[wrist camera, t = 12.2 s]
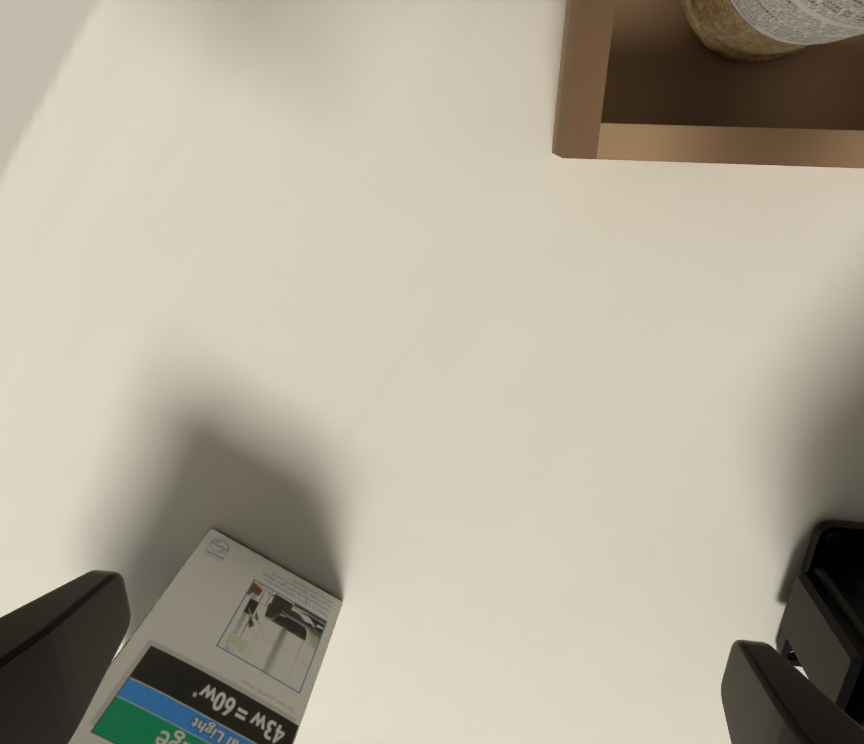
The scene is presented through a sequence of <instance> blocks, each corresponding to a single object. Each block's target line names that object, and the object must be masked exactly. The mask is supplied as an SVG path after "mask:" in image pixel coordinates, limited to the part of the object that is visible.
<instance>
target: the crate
mask: <svg viewBox="0 0 864 744" xmlns="http://www.w3.org/2000/svg"><path fill="white" fill-rule="evenodd" d="M552 153H554V154H556V155H558V156H560V157H562V158H579V159H608V160H637V161H667V162H696V163H725V164H754V165H783V166H812V167H842V168H864V34H860V35H857V36H853V37H849V38H846V39H842V40H838V41H834V42H829V43H824V44H813V45H808V46H806V47H805V48H803V49H801V50H800V51H798V52H795V53H793V54H791V55H787V56H783V57H780V58H777V59H775V60H772V61H768V62H740V61H737V60H733V59H729V58H726V57H724V56H722V55H720V54H719V53H717V52H715V51H713V50H711V49H709V48H707V47H706V46H705V45H704V44H703V43H702V42H701V40H700V39H699V37H698V36H697V35H696V34H695V33H694V30H693V28H692V27H691V26H690V24H689V22H688V20H687V17H686V14H685V11H684V8H683V6H682V4H681V0H567V1H566V12H565V22H564V32H563V43H562V53H561V64H560V74H559V84H558V95H557V105H556V116H555V126H554V136H553V147H552Z"/></svg>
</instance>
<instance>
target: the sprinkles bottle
mask: <svg viewBox="0 0 864 744" xmlns="http://www.w3.org/2000/svg"><path fill="white" fill-rule="evenodd" d="M681 4H682V6H683V8H684V11H685V14H686V17H687V20H688V22H689V24H690V26H691V27H692V28H693V30H694V33H695V34H696V35H697V36H698V37H699V39H700V40H701V42H702V43H703V44H704V45H705V46H706V47H707V48H709V49H711V50H713V51H715V52H717V53H719V54H720V55H722V56H724V57H726V58H729V59H733V60H737V61H740V62H768V61H772V60H775V59H777V58H780V57H783V56H787V55H791V54H793V53H795V52H798V51H800V50H801V49H803V48H805V47H806V46H808V45H813V44H824V43H829V42H834V41H838V40H842V39H846V38H849V37H853V36H857V35H860V34H864V0H681Z"/></svg>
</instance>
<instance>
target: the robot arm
mask: <svg viewBox="0 0 864 744" xmlns="http://www.w3.org/2000/svg"><path fill="white" fill-rule="evenodd" d="M831 533H835V535H834V536H832V537H830V538H826V537H827V536H828V535H829V534H831ZM129 624H130V608H129V603H128V598H127V593H126V588H125V583H124V579H123V577H122V576H121V575H120V573H117V572H111V571H102V570H93V571H90V572H88V573H86V574H84V575H82V576H80V577H78V578H76V579H74V580H72V581H70V582H68V583H66V584H65V585H63V586H61V587H59V588H57V589H55V590H53V591H51V592H49V593H47V594H45V595H43V596H41V597H39V598H38V599H36V600H34V601H32V602H30V603H28V604H26V605H24V606H22V607H20V608H18V609H16V610H14V611H12V612H11V613H9V614H7V615H5V616H3V617H1V618H0V744H68V743H69V742H70V740H71V738H72V737H73V735H74V733H75V732H76V730H77V728H78V726H79V724H80V723H81V721H82V719H83V717H84V715H85V713H86V711H87V709H88V707H89V705H90V703H91V701H92V700H93V698H94V696H95V694H96V692H97V690H98V688H99V686H100V684H101V682H102V680H103V678H104V676H105V674H106V672H107V670H108V668H109V666H110V664H111V662H112V660H113V658H114V656H115V654H116V652H117V650H118V648H119V646H120V644H121V642H122V640H123V638H124V636H125V634H126V632H127V630H128V627H129ZM780 626H781V629H782V631H781V634H780V637H779V640H778V644H777V651H776V650H775V649H774V648H773V647H772V646H770V645H769V644H767V643H764V642H757V641H748V640H737V641H735V642H734V643H733V645H732V647H731V651H730V654H729V658H728V661H727V665H726V668H725V672H724V675H723V679H722V684H721V696H722V703H723V707H724V712H725V716H726V721H727V725H728V730H729V734H730V739H731V743H732V744H864V523H857V522H846V521H835V520H829V521H824V522H821V523H820V524H818V525H817V526H816V527H815V529H814V531H813V534H812V537H811V540H810V543H809V547H808V550H807V553H806V556H805V559H804V562H803V565H802V568H801V571H800V573H799V574H798V575H797V576H796V577H795V580H794V583H793V587H792V590H791V593H790V596H789V599H788V602H787V606H786V609H785V612H784V615H783V618H782V621H781V625H780ZM792 651H794V652H792ZM790 652H791V653H790ZM794 666H800V667H803V669H804V671H805V673H806V675H807V677H808V678H809V679H807V678H806V677H805V676H804V675H803V674H802V673H801V672H800V671H799V670H797V669H796V668H795V667H794Z"/></svg>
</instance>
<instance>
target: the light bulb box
mask: <svg viewBox="0 0 864 744" xmlns="http://www.w3.org/2000/svg"><path fill="white" fill-rule="evenodd" d="M341 607H342V602H341V600H339V599H337V598H335V597H333V596H332V595H330V594H328V593H326V592H324V591H322V590H321V589H319V588H317V587H315V586H314V585H312V584H310V583H308V582H307V581H305V580H303V579H301V578H300V577H298V576H296V575H294V574H292V573H291V572H289V571H287V570H285V569H284V568H282V567H280V566H278V565H276V564H275V563H273V562H271V561H269V560H268V559H266V558H264V557H262V556H260V555H259V554H257V553H255V552H253V551H251V550H250V549H248V548H246V547H244V546H242V545H241V544H239V543H237V542H235V541H234V540H232V539H230V538H228V537H227V536H225V535H223V534H221V533H220V532H218V531H216V530H214V529H211V530H209V532H208V533H207V534H206V536H205V537H204V538H203V540H202V541H201V543H200V544H199V545H198V547H197V548H196V549H195V551H194V552H193V553H192V555H191V556H190V557H189V559H188V560H187V561H186V563H185V564H184V565H183V567H182V568H181V570H180V571H179V572H178V574H177V575H176V577H175V578H174V579H173V581H172V582H171V583H170V585H169V586H168V588H167V589H166V590H165V592H164V593H163V594H162V596H161V597H160V598H159V600H158V601H157V602H156V604H155V605H154V606H153V608H152V609H151V610H150V612H149V613H148V614H147V616H146V617H145V619H144V620H143V621H142V623H141V624H140V625H139V627H138V628H137V630H136V631H135V632H134V634H133V635H132V636H131V637H130V639H129V640H128V641H127V643H126V644H125V645H124V646H123V648H122V649H121V651H120V652H119V653H118V655H117V656H116V657H115V658H114V660H113V661H112V663H111V664H110V666H109V668H108V670H107V672H106V674H105V676H104V678H103V680H102V682H101V684H100V686H99V688H98V690H97V692H96V694H95V696H94V698H93V700H92V701H91V703H90V705H89V707H88V709H87V711H86V713H85V715H84V717H83V719H82V721H81V723H80V724H79V726H78V728H77V730H76V732H75V733H74V735H73V737H72V738H71V740H70V742H69V743H68V744H293V743H294V741H295V738H296V735H297V732H298V729H299V727H300V724H301V721H302V718H303V715H304V713H305V710H306V706H307V704H308V701H309V698H310V695H311V692H312V689H313V686H314V684H315V681H316V678H317V676H318V673H319V670H320V667H321V664H322V661H323V658H324V655H325V653H326V650H327V647H328V644H329V641H330V638H331V635H332V633H333V630H334V627H335V624H336V621H337V618H338V615H339V612H340V610H341Z"/></svg>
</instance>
